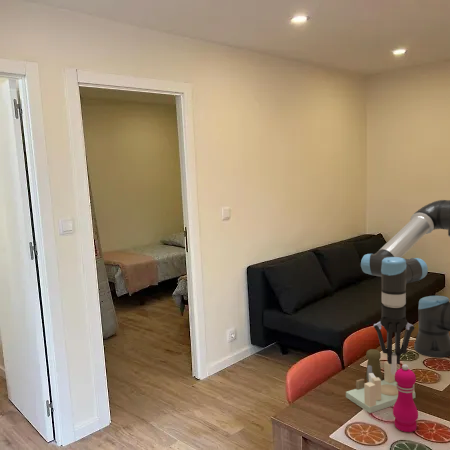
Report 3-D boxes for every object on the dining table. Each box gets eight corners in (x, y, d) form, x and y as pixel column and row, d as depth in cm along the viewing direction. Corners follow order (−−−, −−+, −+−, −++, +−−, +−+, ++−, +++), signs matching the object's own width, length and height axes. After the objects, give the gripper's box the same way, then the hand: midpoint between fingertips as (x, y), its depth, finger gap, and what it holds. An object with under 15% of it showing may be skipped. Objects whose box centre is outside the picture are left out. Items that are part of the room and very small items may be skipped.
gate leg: (367, 389, 158) (367, 370, 157) (374, 389, 158) (373, 370, 157) (374, 400, 150) (374, 380, 149) (381, 400, 150) (381, 380, 149)
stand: (389, 383, 165) (389, 357, 164) (415, 397, 154) (415, 370, 153) (345, 397, 157) (345, 370, 156) (369, 413, 146) (369, 384, 145)
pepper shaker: (383, 382, 166) (383, 354, 165) (366, 381, 168) (365, 353, 166) (381, 374, 172) (380, 347, 171) (364, 374, 173) (364, 347, 172)
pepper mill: (388, 421, 141) (388, 360, 139) (411, 418, 142) (410, 358, 140) (399, 434, 134) (399, 370, 132) (422, 432, 135) (422, 368, 132)
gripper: (411, 301, 151) (411, 368, 153) (371, 301, 153) (371, 367, 156) (417, 308, 143) (416, 378, 146) (374, 307, 146) (375, 377, 148)
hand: (393, 372), depth 151 cm, fingers closed
